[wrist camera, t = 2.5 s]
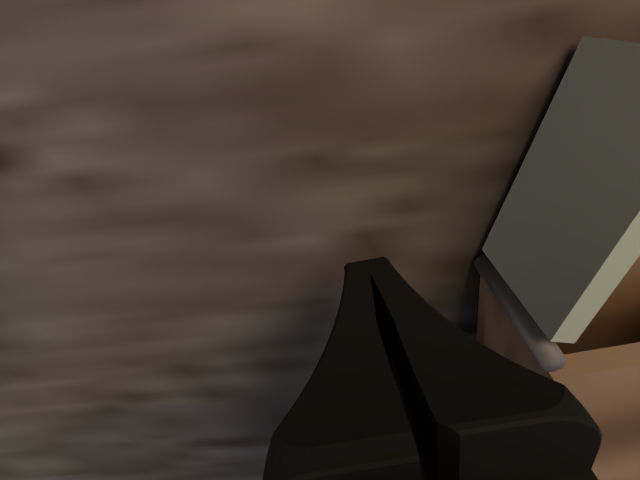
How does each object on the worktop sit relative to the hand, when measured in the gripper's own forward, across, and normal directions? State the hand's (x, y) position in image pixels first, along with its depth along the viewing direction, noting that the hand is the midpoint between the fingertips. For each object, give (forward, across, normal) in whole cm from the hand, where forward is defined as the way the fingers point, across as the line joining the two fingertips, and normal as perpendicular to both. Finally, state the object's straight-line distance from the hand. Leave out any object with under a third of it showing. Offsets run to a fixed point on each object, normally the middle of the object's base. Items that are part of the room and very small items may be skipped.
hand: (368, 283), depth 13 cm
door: (+3, -6, -2) cm, 7 cm away
